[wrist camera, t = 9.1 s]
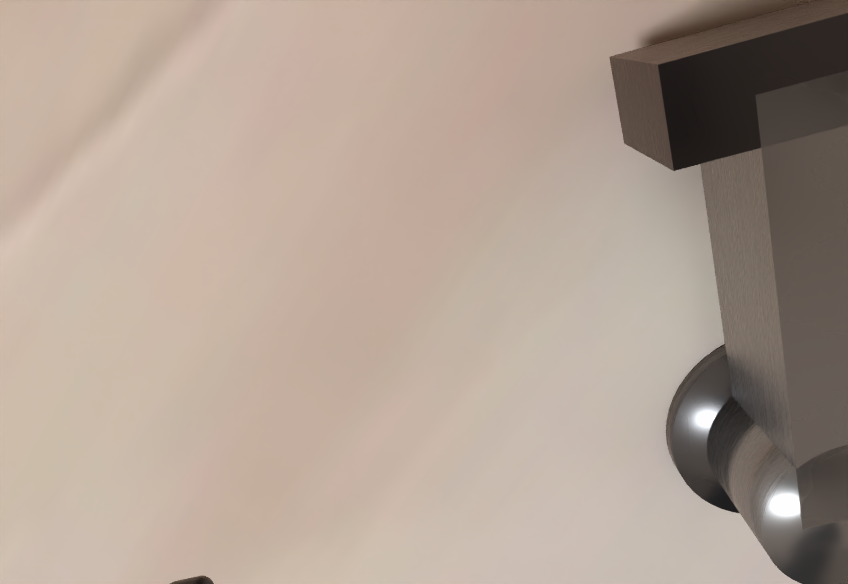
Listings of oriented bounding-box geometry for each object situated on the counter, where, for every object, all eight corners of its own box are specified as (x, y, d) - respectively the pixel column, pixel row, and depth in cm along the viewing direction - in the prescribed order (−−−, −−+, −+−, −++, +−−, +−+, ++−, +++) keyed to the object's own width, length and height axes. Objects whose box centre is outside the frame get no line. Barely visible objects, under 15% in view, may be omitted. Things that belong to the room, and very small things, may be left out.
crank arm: (886, 476, 19) (975, 560, 16) (688, 521, 19) (740, 612, 16) (858, -12, 15) (970, -21, 12) (609, 56, 15) (658, 64, 12)
